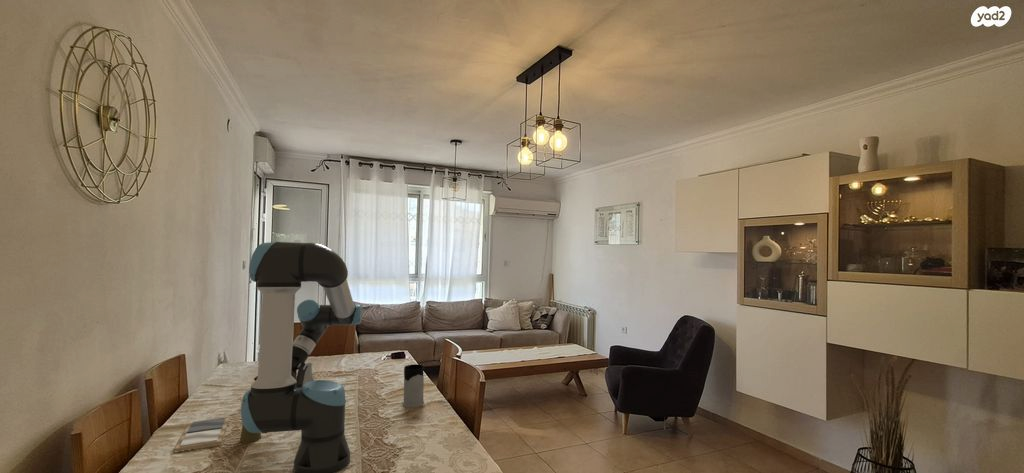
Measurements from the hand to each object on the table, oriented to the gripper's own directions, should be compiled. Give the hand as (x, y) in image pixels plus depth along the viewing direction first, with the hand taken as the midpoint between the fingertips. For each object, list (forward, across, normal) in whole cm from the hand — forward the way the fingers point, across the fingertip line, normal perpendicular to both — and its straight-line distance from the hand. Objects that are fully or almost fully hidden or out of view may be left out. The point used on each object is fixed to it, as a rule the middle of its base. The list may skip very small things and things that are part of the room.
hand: (263, 405), depth 149 cm
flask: (-26, -27, +40) cm, 54 cm away
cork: (+10, 0, +4) cm, 11 cm away
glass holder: (-25, +29, +39) cm, 55 cm away
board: (+12, -17, +1) cm, 21 cm away
